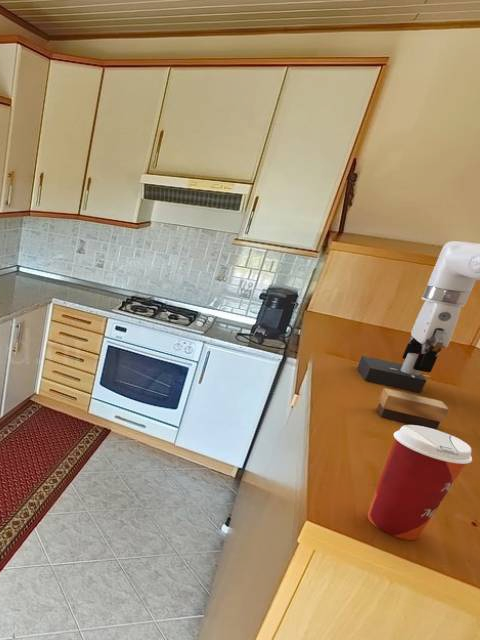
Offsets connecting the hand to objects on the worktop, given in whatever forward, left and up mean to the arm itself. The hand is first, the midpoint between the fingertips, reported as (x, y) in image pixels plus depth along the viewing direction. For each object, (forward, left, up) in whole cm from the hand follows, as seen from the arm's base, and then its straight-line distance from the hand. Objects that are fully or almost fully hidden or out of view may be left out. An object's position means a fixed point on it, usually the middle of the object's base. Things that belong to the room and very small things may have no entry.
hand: (415, 365), depth 118 cm
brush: (+5, +26, -6) cm, 27 cm away
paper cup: (+16, +73, -6) cm, 75 cm away
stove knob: (0, 0, -2) cm, 2 cm away
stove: (+3, -2, -6) cm, 7 cm away
